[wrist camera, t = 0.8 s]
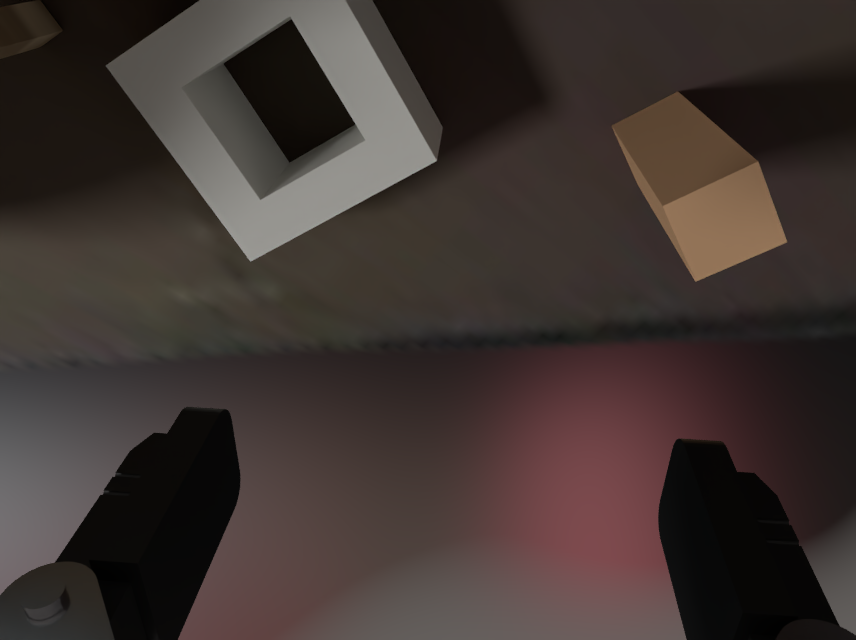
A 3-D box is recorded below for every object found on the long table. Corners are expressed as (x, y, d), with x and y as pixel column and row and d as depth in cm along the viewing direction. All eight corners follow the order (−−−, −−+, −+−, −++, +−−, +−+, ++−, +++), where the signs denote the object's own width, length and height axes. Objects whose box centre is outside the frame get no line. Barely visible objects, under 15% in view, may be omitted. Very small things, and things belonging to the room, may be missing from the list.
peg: (678, 91, 30) (758, 161, 21) (702, 152, 31) (787, 242, 23) (611, 125, 31) (662, 206, 22) (637, 184, 32) (695, 281, 24)
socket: (331, -74, 28) (304, -73, 24) (443, 127, 32) (436, 160, 27) (158, 44, 31) (105, 65, 26) (279, 217, 34) (250, 261, 30)
